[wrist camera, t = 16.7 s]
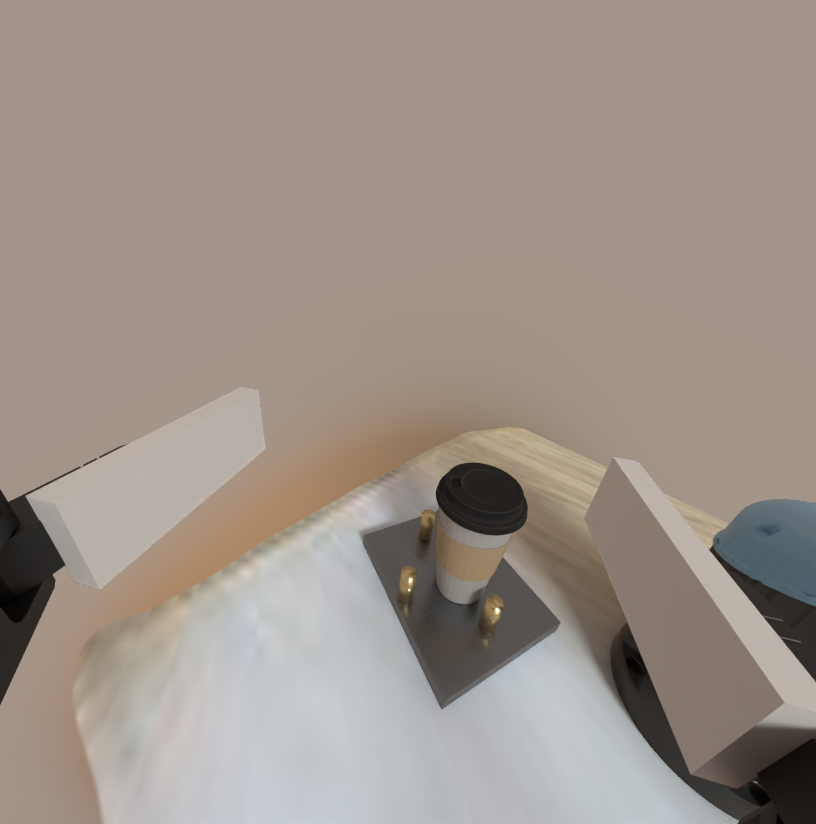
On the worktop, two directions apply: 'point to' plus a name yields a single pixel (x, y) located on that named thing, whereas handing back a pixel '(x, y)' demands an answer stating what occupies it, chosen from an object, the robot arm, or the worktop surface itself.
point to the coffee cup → (474, 527)
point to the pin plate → (455, 610)
